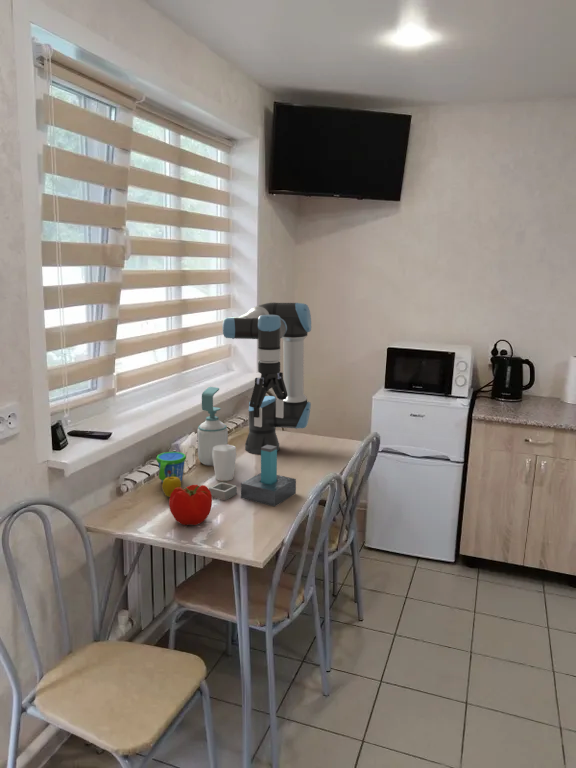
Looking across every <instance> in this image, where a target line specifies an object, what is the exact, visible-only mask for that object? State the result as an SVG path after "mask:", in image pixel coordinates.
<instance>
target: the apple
mask: <svg viewBox="0 0 576 768" xmlns="http://www.w3.org/2000/svg"><path fill="white" fill-rule="evenodd" d="M178 487H180V488H182V481H180V479H179V478H178V477H169V476H168V477H167V478H165V479H164V481H163V482H162V488H161V489H162V491H163V493H164V495H165V496H166V497H169V498H170V496H171V493H172V492H173V490H174V489H175V488H178Z"/></svg>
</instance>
